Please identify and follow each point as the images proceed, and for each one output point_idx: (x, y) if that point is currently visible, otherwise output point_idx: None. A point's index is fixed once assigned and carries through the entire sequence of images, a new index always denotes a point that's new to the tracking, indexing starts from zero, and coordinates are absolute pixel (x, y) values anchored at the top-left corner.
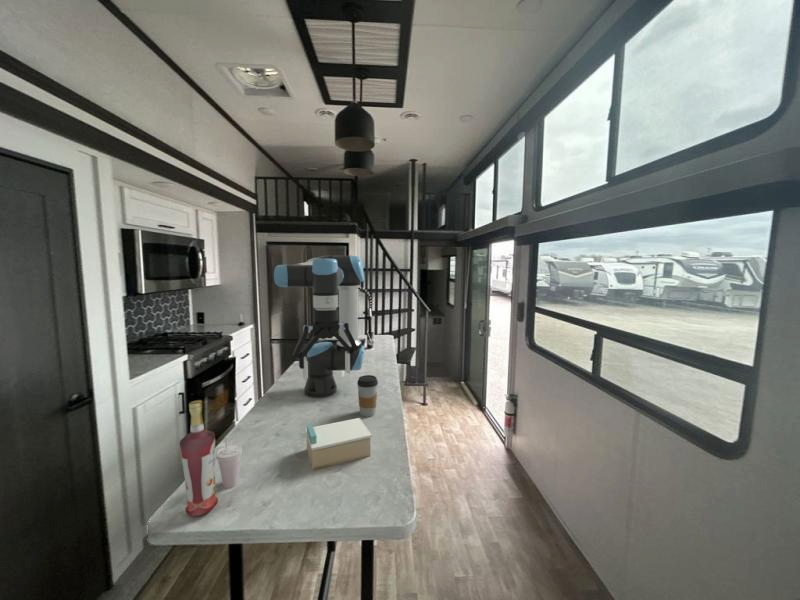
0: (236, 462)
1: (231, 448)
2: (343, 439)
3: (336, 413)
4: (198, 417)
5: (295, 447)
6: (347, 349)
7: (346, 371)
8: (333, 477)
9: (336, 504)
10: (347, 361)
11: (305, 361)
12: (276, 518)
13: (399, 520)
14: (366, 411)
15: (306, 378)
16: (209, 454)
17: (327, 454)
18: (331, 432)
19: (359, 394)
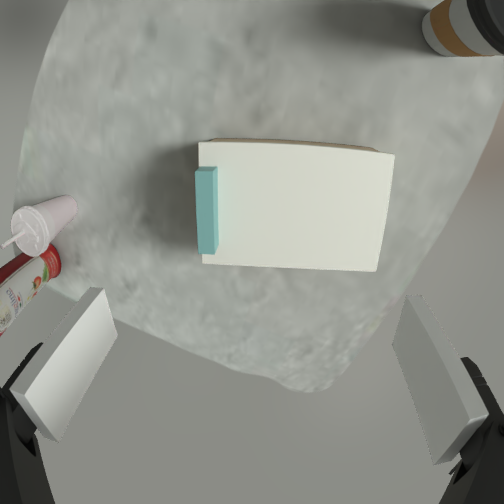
0: (51, 240)
1: (27, 227)
2: (296, 259)
3: None
4: None
5: (187, 115)
6: (445, 494)
7: (400, 325)
8: (253, 275)
9: (240, 337)
10: (417, 407)
11: (60, 423)
12: (148, 321)
13: (312, 388)
14: (440, 48)
15: (112, 339)
16: (7, 326)
17: None
18: (275, 205)
19: (451, 15)
